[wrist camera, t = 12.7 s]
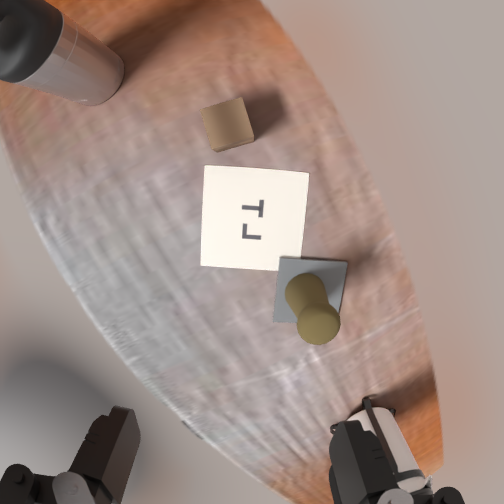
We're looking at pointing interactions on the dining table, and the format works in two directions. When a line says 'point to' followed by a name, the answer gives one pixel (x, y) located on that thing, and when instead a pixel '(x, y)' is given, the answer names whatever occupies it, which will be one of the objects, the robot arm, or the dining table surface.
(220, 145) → the walnut block
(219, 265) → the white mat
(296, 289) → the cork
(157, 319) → the dining table surface
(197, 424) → the dining table surface
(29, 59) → the robot arm
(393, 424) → the coffee press
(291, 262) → the slate coaster
